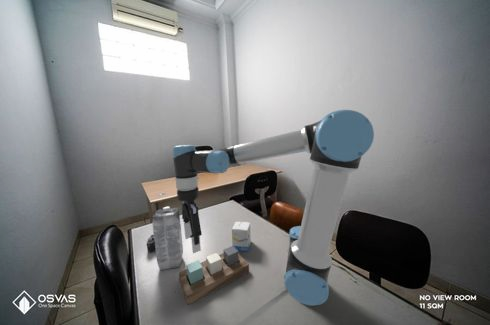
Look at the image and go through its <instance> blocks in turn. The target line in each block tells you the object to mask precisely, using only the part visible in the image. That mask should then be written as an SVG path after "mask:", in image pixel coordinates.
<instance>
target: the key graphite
mask: <svg viewBox="0 0 490 325" xmlns="http://www.w3.org/2000/svg"><path fill="white" fill-rule="evenodd" d="M223 253H224V261H225V262H226V263H227V264H226V265H227V266H228V267H230V266H232V265H234V264H236V263H237V262H239V258H238V253H239V251H238V250H236V249H235V247H234V246H232V245H231V246H229V247H227V248H224V249H223Z"/></svg>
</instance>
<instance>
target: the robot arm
mask: <svg viewBox="0 0 490 325" xmlns="http://www.w3.org/2000/svg"><path fill="white" fill-rule="evenodd" d="M374 138H375V131H374V127H373V124H372V122H371V121H370V120H369V118H368V117H367V116H365V115H364V114H363V113H361V112H359V111H357V110H352V109H342V110H341V109H340V110H336V111H332V112H330V113H328V114H326V115H325V116H324V117H323V118H322V119H320V120H319V121H316V122H314V123H312V124H307V125H304V126H303V127H302V128H301V129H300V130H295V131H290V132H287V133H282V134H277V135H273V136H270V137H265V138H261V139H257V140H252V141H249V142H244V143H239V144H236V145H232V146H227V147H222V148H217V149H211V150H197V149H196V146H195V144H194V145H193V144H181V145H175V146H173V149H172V154H173V155H172V160H173V165H174V173H175V174H174V176H175V186H176V189H177V190H176V195H177V197H176V198H177V200H178V201H180V202H181V216H182V217H181V219H182V220H183V227H184V228H183V229H184V237H185V240H187V239H190V238H191V246H192V247H191V248H192V254H196V253H198V252H200V251H202V249H201V238H200V237H201V236H202V235H203V234H202V228H201V222H200V216H199V215H200V214H199V207H198V206H197V203H196V202H195V200H196V199H199V197H200V192H199V187H198V186H199V179H200V178H199V176H198V173H207V174H214V175H215V174H217V175H218V174H224V173H226V172H227V171H228V169H229V167H230V166H235V165H240V164H245V163H251V162H256V161H257V162H258V161H261V160H267V159H273V158H278V157H282V156H288V155H294V154H299V153H304V152H306V153H308V154H310V156H309V160H310V163H311V164H312V166H313V169H312V170H313V171H312V175H311V178H310V179H311V180H310V184H309V189H308V192H307V196H306V202H305V206H304V211H303V215H302V219H301V225H297V226H293V227H291V228H290V229H289V234H288V237H289V244H288V253H287V260H286V268H285V269H286V270H285V274H284V276H283V277H284V285H285V286H284V287H285V290H286V291H287V293H289V295H290V296H291V297H292V298H293V299H294V300H295V301H297V302H299V303H300V304H303V305H305V306H311V307H312V306H313V307H314V306H319V305H323V304H324V303H326V302H327V300H328V298H329V291H330V287H329V284H328V278H329V276H330V275H329V274H330V271H331V267H332V264H333V259H332V256H331V254H330V253H329V252H330V251H329V250H330V247H331V244H332V240H333V236H334V233H335V232H334V231H335V228H336V224H337V221H338V217H339V213H340V209H341V207H342V206H341V205H342V202H343V198H344V194H345V192H346V187H347V184H348V180H349V177H350V174H352V173H353V172H355V171H358V170H359V166H360V163H361V160H362V156H364V155H365V154H366V153H367V152H368V151H369V150H370V148H371V147H372V145H373V143H374Z"/></svg>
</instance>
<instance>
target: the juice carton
mask: <svg viewBox="0 0 490 325" xmlns="http://www.w3.org/2000/svg"><path fill="white" fill-rule="evenodd" d="M170 207H171V206H165V207H162V209H158V210H156V212H155V213H154V215H153V216H152V218H151V219H152V233H153V234H154V241H155V249H156V251H155V256H156V263H157V266H158V269H159V271H165V270H169V269H173V268H174V269H176V268H180V267H181V262H182V258H183V254H184V246H183V244H184V243H183V237H182V236H183V234H182V225H181V216H180V210H179V208H178V207H173V208H170Z"/></svg>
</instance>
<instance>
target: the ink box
mask: <svg viewBox="0 0 490 325" xmlns="http://www.w3.org/2000/svg"><path fill="white" fill-rule="evenodd" d="M251 236H252V234H251V222H250V221H249V222H247V221H235V222H234V223H233V225H232V228H231V243H232V245H231V246H234V247H235V249H236V250H237V251H238V252H249V250H250V246H251V243H252V242H251V241H252V239H251Z"/></svg>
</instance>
